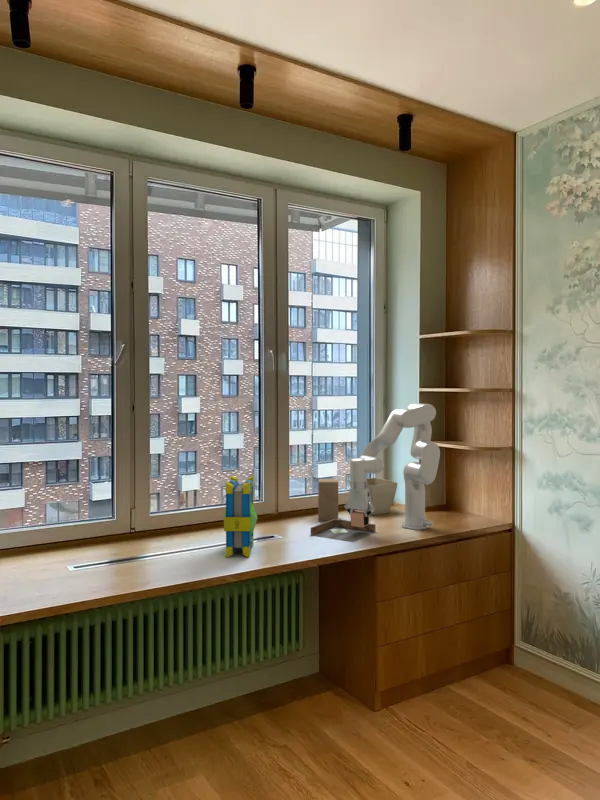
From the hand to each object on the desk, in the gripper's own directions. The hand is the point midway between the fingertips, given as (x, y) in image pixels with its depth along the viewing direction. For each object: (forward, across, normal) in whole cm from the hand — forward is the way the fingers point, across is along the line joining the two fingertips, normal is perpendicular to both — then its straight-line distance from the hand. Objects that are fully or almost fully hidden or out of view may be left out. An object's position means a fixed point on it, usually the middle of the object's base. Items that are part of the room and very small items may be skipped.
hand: (359, 523), depth 285 cm
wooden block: (+5, +28, -18) cm, 33 cm away
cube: (+1, 0, 0) cm, 1 cm away
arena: (+4, +6, +6) cm, 9 cm away
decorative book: (+3, +28, +53) cm, 60 cm away
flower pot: (+6, +16, -46) cm, 49 cm away
